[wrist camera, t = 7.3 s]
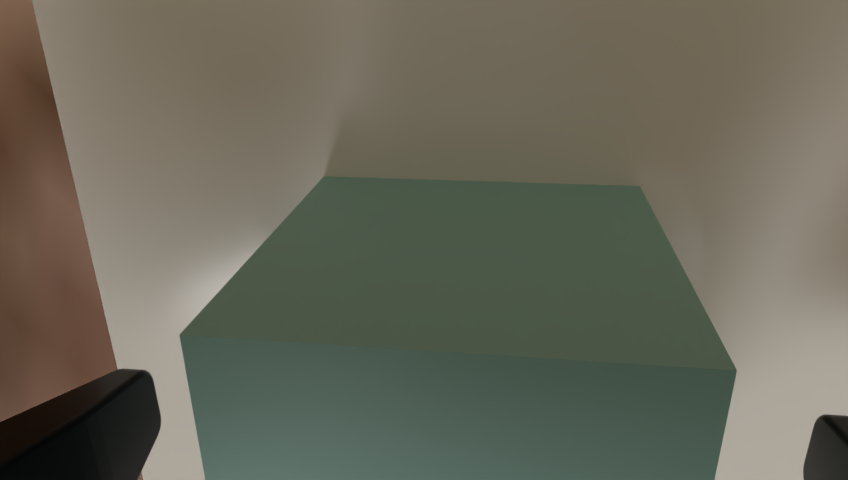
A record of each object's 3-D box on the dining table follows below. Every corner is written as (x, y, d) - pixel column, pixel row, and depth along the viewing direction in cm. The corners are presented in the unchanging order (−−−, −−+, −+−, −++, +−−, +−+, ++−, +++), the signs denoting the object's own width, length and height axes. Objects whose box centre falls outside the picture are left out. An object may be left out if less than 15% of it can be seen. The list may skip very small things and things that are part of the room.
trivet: (180, 542, 16) (164, 570, 15) (38, -122, 10) (1, -129, 10) (805, 606, 14) (820, 641, 13) (1030, -160, 9) (1078, -171, 8)
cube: (342, 425, 13) (241, 684, 8) (323, 176, 11) (178, 335, 6) (607, 446, 12) (660, 741, 8) (639, 186, 10) (737, 370, 6)
